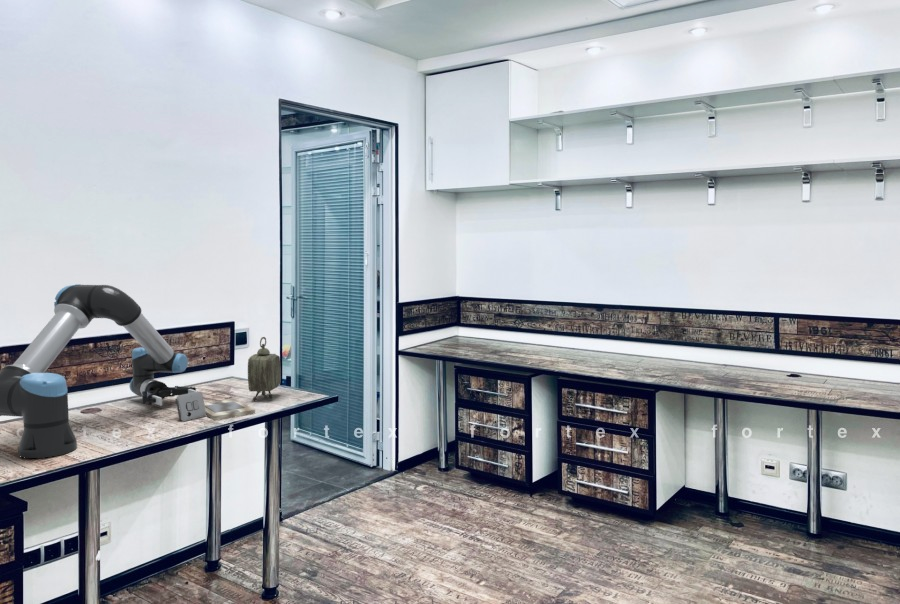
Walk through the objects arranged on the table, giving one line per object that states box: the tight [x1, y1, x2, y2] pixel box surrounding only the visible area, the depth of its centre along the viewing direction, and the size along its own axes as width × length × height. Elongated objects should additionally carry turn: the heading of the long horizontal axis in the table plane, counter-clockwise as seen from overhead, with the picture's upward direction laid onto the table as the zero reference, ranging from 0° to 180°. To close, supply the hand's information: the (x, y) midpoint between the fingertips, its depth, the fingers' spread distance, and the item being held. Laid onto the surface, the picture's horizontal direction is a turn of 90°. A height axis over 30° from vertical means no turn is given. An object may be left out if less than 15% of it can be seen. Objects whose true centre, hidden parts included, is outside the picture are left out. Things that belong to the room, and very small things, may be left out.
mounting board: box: [204, 398, 256, 421], centre depth 243 cm, size 15×22×2 cm
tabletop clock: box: [247, 336, 282, 402], centre depth 262 cm, size 14×9×25 cm, turn 178°
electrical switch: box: [175, 390, 207, 422], centre depth 233 cm, size 9×5×9 cm, turn 141°
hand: (179, 398), depth 239 cm, fingers open, 13 cm apart
